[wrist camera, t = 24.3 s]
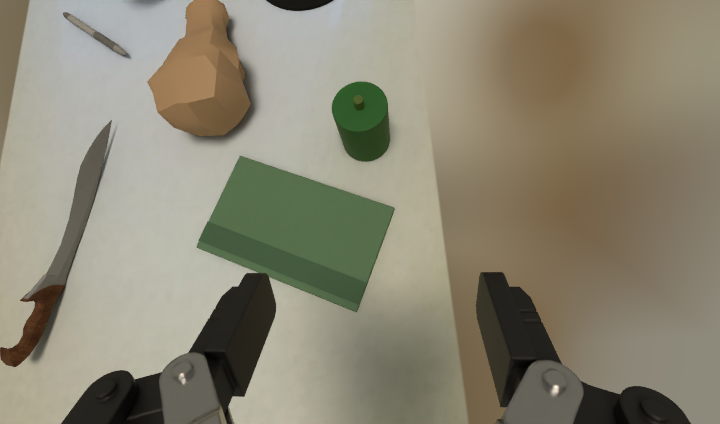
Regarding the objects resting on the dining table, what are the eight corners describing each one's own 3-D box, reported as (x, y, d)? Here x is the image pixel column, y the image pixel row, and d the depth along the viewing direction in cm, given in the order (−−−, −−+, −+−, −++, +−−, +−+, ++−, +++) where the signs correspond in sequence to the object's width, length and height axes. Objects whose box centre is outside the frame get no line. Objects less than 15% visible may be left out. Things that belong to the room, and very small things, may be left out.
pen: (71, 16, 52) (63, 8, 51) (133, 56, 49) (125, 49, 48) (67, 20, 52) (58, 13, 51) (128, 61, 49) (120, 54, 47)
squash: (187, 159, 44) (123, 119, 36) (192, 46, 52) (140, -9, 44) (262, 133, 42) (211, 84, 34) (256, 18, 49) (213, -44, 41)
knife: (1, 371, 35) (91, 105, 42) (-10, 368, 36) (82, 104, 42) (44, 362, 40) (120, 123, 46) (34, 360, 40) (111, 122, 46)
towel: (394, 209, 39) (394, 207, 39) (356, 311, 37) (355, 312, 36) (241, 157, 43) (239, 155, 42) (198, 247, 41) (195, 247, 40)
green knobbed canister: (396, 126, 42) (395, 82, 33) (380, 167, 41) (375, 132, 32) (353, 113, 43) (342, 67, 34) (336, 153, 42) (320, 116, 33)
